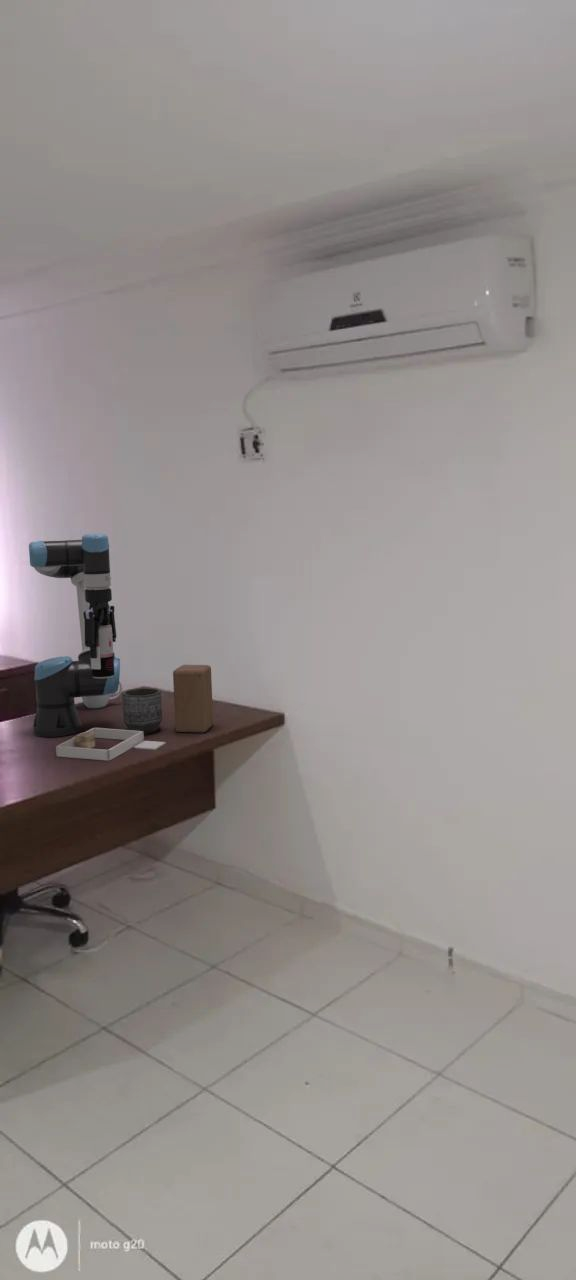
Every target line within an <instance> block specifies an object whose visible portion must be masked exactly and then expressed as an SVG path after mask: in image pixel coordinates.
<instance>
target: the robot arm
mask: <svg viewBox="0 0 576 1280" xmlns="http://www.w3.org/2000/svg"><path fill="white" fill-rule="evenodd" d="M28 552H29V554H28V555H29V564H30V567H32V568H34V570H35V571H36V572H37V573H39V574H41V575H43V576H46V577H50V578H55V579H70V582H71V584H72V585H73V586H75V587H76V597H77V606H78V607H77V609H78V618H79V619H78V620H79V627H80V640H81V641H80V642H81V652H80V653H78V655H77V659H78V660H73V659H72V657H71V656H70V655H69V656H67V655H66V656H56V657H51V658H47V659H45V660H41V661H39V662H37V664H36V665H35V666H34V678H33V679H34V681H35V693H36V694H35V696H36V698H35V699H36V713H35V717H34V721H33V723H32V734H33V735H34V736H37V737H45V738H49V737H51V738H52V737H53V738H54V737H57V738H58V737H65V736H69V735H73V734H77V733H78V732H80V731H82V730H83V729H82V728H83V727H82V721H81V718H80V715H79V712H78V711H77V709H76V708H77V707H76V704H75V698H82V697H87V696H100V695H103V696H105V695H109V694H110V695H114V694H116V693H118V692H119V689H120V685H119V679H120V674H121V658H120V657H115V652H114V651H113V656H114V676H113V677H110V678H103V679H98V678H93V677H92V672H91V669H101V661H100V647H98V639H99V627H100V625H111V627H112V639H113V643H116V641H117V628H116V620H115V619H116V617H115V606H114V605H110V604H109V603H110V602H112V597H113V595H112V589H111V588H110V587H111V586H112V584H111V582H112V581H111V580H112V576H111V565H110V563H111V562H110V542H109V536H108V535H107V534H106V533H89V534H83V535H82V536H81V539H70V540H69V539H67V540H66V539H65V540H47V541H46V540H38V541H30V542H29V544H28Z"/></svg>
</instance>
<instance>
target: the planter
mask: <svg viewBox="0 0 576 1280" xmlns="http://www.w3.org/2000/svg"><path fill="white" fill-rule="evenodd" d="M121 695H122V696H121V698H122V717H123V718H122V721H123V723H124V725H125V726H126V728H127V730H134V731H144V735H147V734H152V733H155V732H156V731H157V730H158V729H159V727H160V725H161V724H162V720H163V710H162V708H163V707H162V706H163V705H162V690H161V689H160V688H156V687H134V688H130V689H126V690H124V691H123V690H122V692H121Z"/></svg>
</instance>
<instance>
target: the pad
mask: <svg viewBox="0 0 576 1280" xmlns="http://www.w3.org/2000/svg"><path fill="white" fill-rule="evenodd" d="M166 744H167V742H165V741H154V740H153V741H152V740H144V741H143V742H141V743H139V744H137V745H136V746H134V747H133V748H134V749H138V750H139V749H140V750H150V751H152V750H153V751H156V750H158V749H159V748H161V747H162V746H164V745H166Z"/></svg>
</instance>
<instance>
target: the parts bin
mask: <svg viewBox="0 0 576 1280" xmlns="http://www.w3.org/2000/svg"><path fill="white" fill-rule="evenodd" d="M84 733H94V735H95V739H106V740H107V739H108V740H121V742H119V743H118V744H115V745H114V746H112V747H111V748H109V749H101V748H78V747H76V736H73V737H72V738H70V739H68V740H66V741H63V742H62V743H60V744H58V745H56V746H55V752H56V754H55V756H56V757H59V758H70V759H71V758H72V759H84V760H96V761H111V760H113V759H115V758H117V757H118V756H120V755H122V754H123V753H125V752H128V751H129V750H131V749H132V748H134V747H135V746H136V745H138V744H140V743H142V742H143V741H145V734H144V731H134V730H129V729H120V728H119V729H117V728H104V727H92V728H90V729H88V730H86V731H85V732H84ZM122 740H123V741H122Z"/></svg>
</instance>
